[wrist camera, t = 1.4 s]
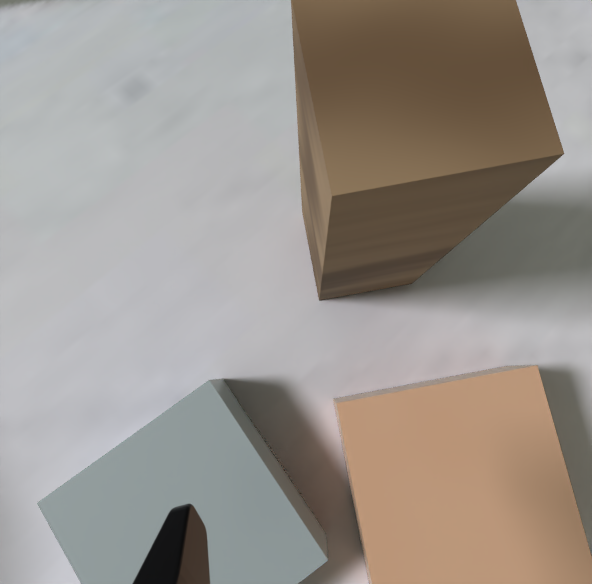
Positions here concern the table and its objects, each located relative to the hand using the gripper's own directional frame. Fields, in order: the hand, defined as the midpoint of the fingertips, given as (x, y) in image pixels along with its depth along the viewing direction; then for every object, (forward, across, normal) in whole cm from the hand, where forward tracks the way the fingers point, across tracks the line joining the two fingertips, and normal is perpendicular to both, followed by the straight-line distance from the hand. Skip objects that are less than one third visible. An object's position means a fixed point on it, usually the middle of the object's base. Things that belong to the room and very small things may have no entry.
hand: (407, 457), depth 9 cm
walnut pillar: (+15, -3, +3) cm, 16 cm away
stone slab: (+8, +9, +11) cm, 16 cm away
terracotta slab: (+7, -3, +12) cm, 14 cm away
